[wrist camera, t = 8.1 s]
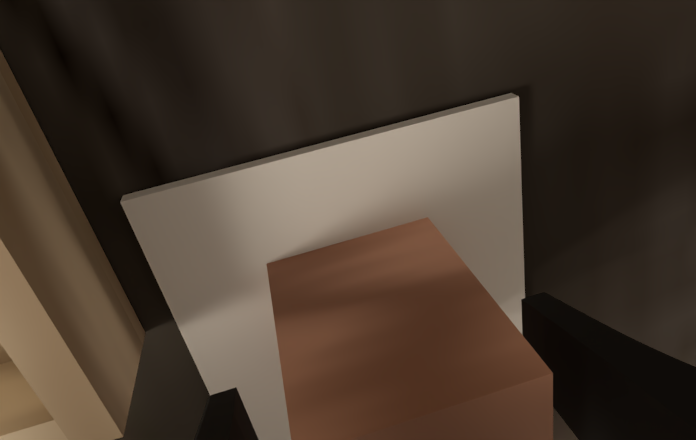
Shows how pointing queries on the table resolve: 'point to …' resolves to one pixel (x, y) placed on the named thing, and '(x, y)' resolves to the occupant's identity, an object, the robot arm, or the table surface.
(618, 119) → the table surface
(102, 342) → the organiser box
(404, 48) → the table surface
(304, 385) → the terracotta block
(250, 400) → the grey mat
